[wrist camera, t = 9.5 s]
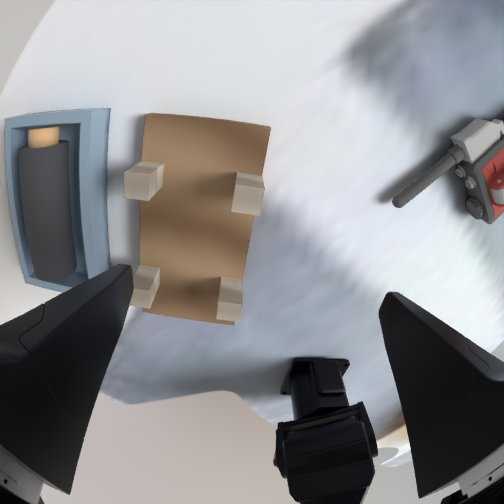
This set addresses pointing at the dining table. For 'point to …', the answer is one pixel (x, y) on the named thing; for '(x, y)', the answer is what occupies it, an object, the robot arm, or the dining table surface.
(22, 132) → the tray
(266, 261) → the dining table surface
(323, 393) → the robot arm
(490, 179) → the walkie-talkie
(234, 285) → the block
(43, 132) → the tan-capped grey cylinder
